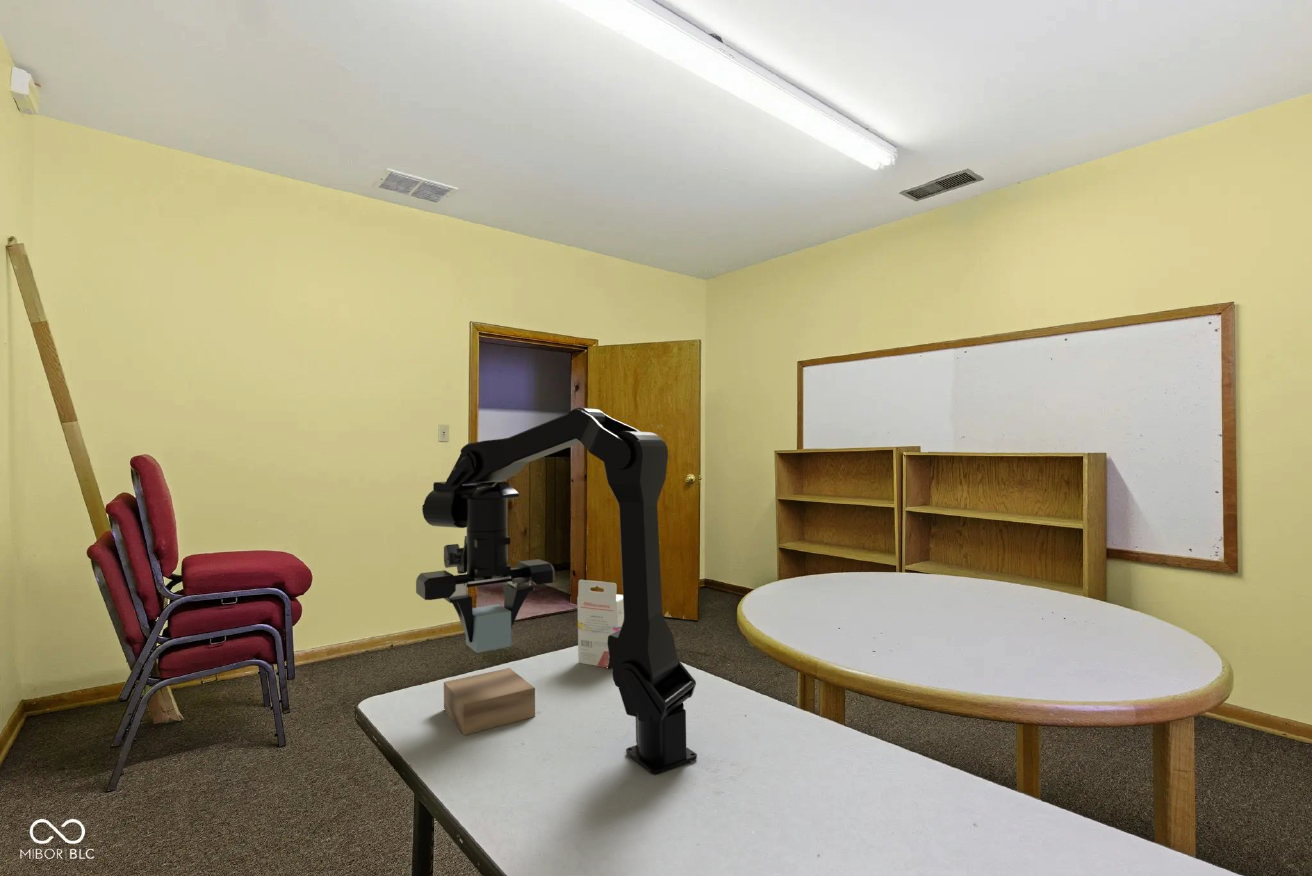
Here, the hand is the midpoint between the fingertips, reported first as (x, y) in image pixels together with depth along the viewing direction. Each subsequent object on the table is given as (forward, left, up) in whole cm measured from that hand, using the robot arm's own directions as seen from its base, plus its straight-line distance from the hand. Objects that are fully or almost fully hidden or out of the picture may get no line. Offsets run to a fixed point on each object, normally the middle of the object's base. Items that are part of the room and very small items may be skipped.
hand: (488, 638), depth 90 cm
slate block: (0, 0, -1) cm, 1 cm away
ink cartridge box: (+9, -24, -11) cm, 28 cm away
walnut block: (0, 0, -11) cm, 11 cm away
